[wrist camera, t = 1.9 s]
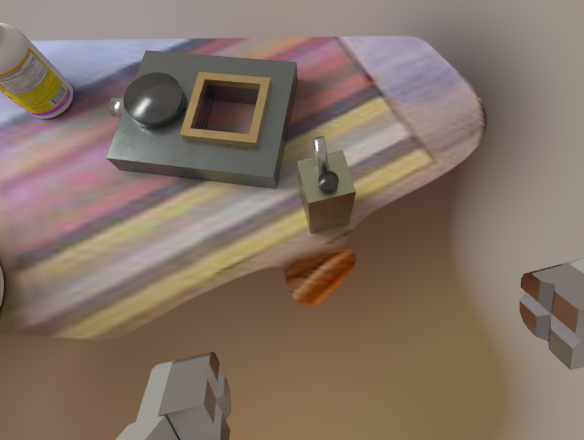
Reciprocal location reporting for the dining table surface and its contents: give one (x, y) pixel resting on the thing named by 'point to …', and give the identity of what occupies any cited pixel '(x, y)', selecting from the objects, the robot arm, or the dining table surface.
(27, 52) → the supplement bottle
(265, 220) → the dining table surface
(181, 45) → the dining table surface
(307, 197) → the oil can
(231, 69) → the grey base plate
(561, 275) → the robot arm
